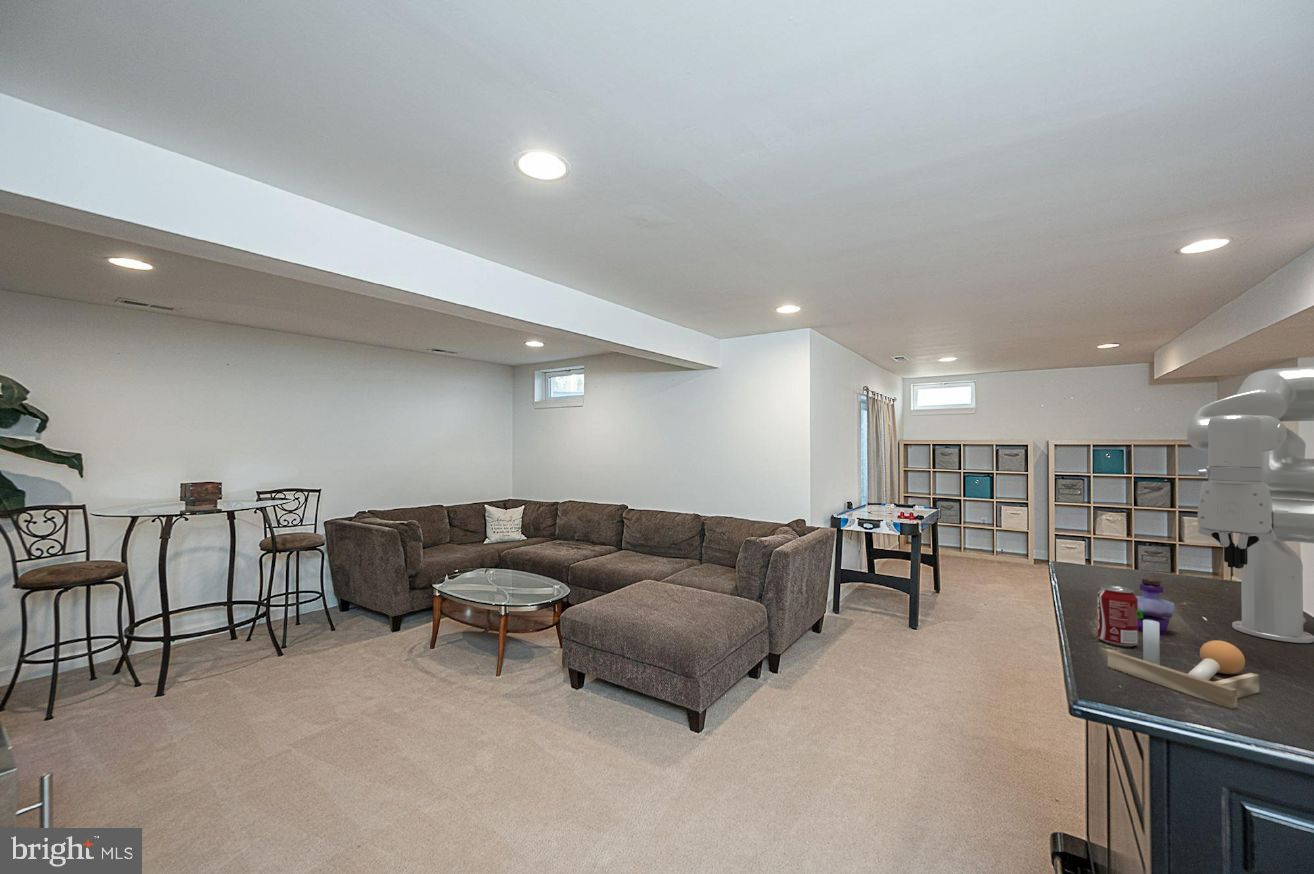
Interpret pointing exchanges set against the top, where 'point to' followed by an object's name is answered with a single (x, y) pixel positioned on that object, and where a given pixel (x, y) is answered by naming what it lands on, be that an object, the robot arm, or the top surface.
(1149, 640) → the grey pin
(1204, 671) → the ivory pin
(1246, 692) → the wooden t-square
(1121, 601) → the soda can
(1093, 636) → the top surface
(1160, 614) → the potion bottle
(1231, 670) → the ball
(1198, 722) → the top surface
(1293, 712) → the top surface
